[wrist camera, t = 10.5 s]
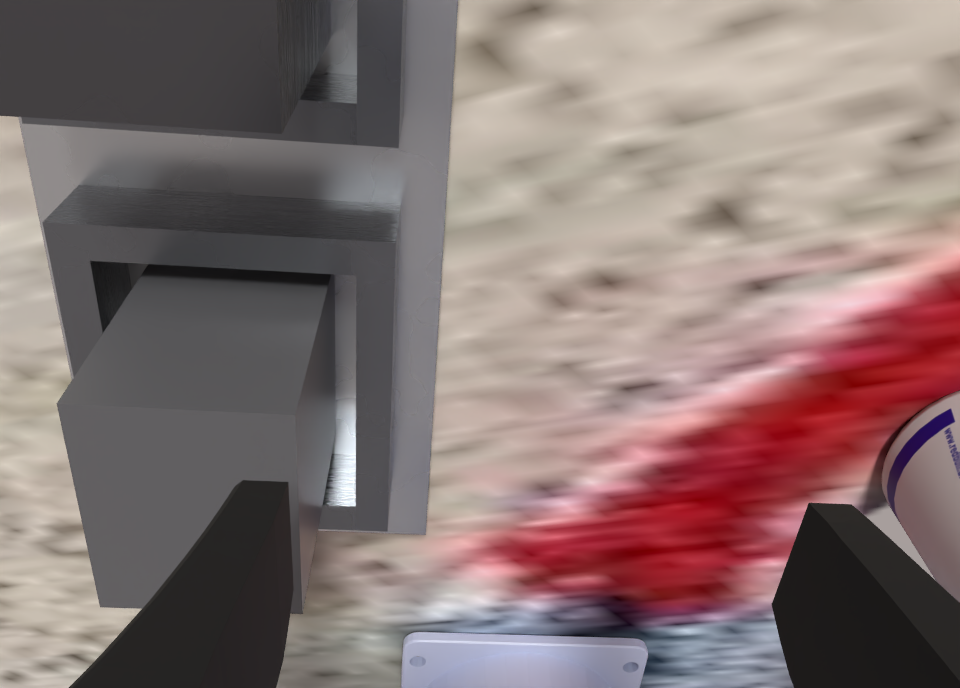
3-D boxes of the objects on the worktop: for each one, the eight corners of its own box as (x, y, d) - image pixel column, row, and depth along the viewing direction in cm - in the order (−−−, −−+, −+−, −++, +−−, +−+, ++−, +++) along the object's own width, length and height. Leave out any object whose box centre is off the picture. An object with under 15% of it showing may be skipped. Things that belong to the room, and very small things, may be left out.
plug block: (335, 432, 23) (302, 613, 18) (179, 424, 22) (100, 606, 17) (334, 260, 20) (295, 415, 15) (157, 249, 20) (57, 403, 15)
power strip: (426, 510, 26) (418, 724, 20) (112, 498, 25) (7, 715, 19) (478, -352, 15) (496, -452, 9) (-60, -408, 15) (-412, -552, 9)
